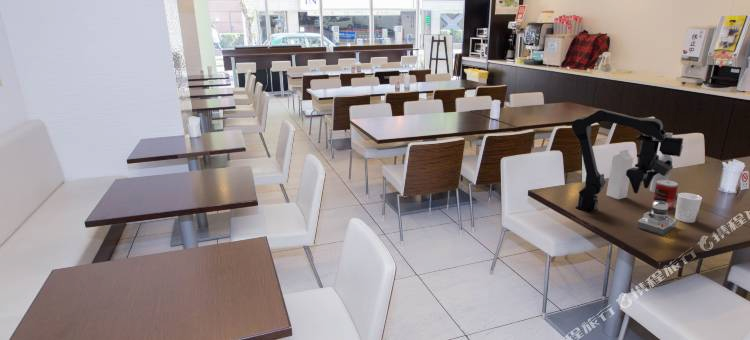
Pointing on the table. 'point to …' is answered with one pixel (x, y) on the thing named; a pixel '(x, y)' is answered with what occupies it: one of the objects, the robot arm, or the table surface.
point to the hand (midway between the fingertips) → (640, 190)
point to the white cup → (687, 207)
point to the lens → (659, 210)
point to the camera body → (656, 224)
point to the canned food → (666, 192)
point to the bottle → (658, 176)
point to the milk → (619, 175)
